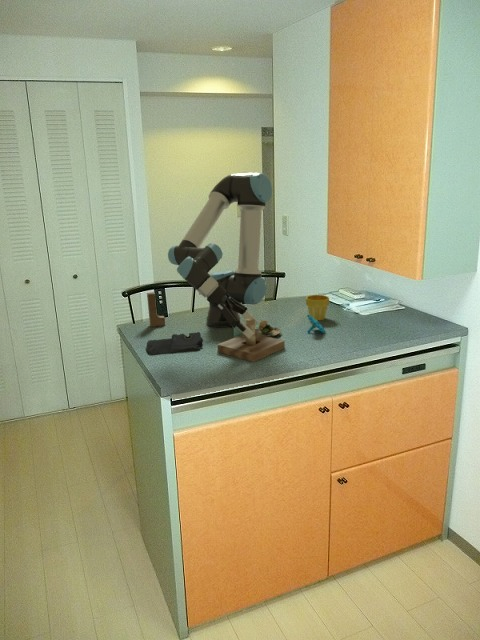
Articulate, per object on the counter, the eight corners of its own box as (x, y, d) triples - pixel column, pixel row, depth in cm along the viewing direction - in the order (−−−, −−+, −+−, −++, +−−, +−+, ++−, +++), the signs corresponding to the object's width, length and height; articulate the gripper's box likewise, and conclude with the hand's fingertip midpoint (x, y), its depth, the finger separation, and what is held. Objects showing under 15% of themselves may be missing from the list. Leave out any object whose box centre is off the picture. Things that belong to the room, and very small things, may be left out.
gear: (326, 332, 206) (309, 315, 206) (316, 342, 207) (298, 325, 208) (327, 328, 217) (310, 311, 217) (317, 337, 218) (300, 321, 218)
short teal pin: (232, 340, 207) (231, 323, 205) (238, 337, 210) (237, 321, 208) (238, 342, 205) (238, 325, 203) (244, 339, 207) (244, 323, 205)
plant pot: (332, 316, 233) (333, 295, 230) (323, 322, 225) (323, 301, 222) (311, 314, 238) (311, 293, 236) (302, 320, 230) (301, 298, 227)
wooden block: (150, 327, 229) (147, 294, 225) (149, 325, 232) (146, 292, 228) (165, 325, 231) (162, 292, 227) (164, 323, 234) (161, 291, 230)
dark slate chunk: (146, 344, 208) (145, 333, 206) (200, 339, 212) (199, 328, 210) (147, 357, 193) (146, 345, 192) (205, 351, 197) (204, 339, 196)
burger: (268, 341, 204) (268, 323, 202) (246, 336, 212) (246, 319, 210) (287, 334, 213) (286, 316, 211) (265, 329, 220) (264, 312, 218)
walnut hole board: (217, 351, 195) (217, 344, 194) (249, 339, 207) (248, 332, 206) (253, 362, 183) (253, 354, 182) (284, 348, 196) (284, 340, 195)
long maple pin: (244, 350, 195) (243, 320, 192) (250, 347, 197) (249, 318, 194) (251, 352, 193) (250, 321, 189) (257, 349, 195) (256, 319, 192)
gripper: (212, 290, 204) (251, 326, 205) (198, 307, 180) (242, 348, 182) (225, 277, 201) (264, 314, 203) (212, 292, 178) (256, 334, 180)
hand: (254, 330), depth 193 cm, fingers open, 13 cm apart
